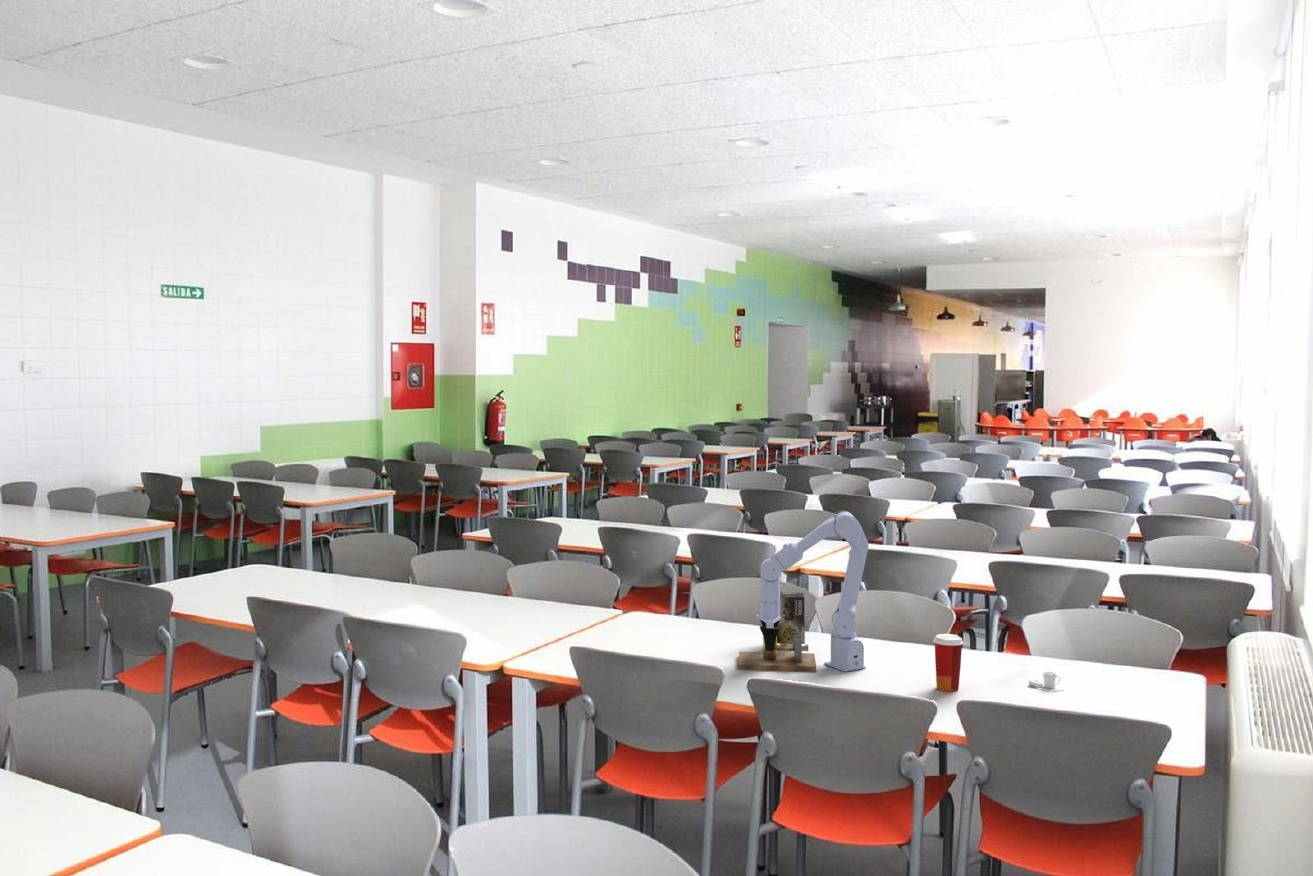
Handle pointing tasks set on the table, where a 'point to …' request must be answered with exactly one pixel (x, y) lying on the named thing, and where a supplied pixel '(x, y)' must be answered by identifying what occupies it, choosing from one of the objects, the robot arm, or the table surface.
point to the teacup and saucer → (1047, 681)
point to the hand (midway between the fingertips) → (769, 647)
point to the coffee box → (791, 617)
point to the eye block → (779, 660)
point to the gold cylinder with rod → (780, 647)
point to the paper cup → (948, 661)
